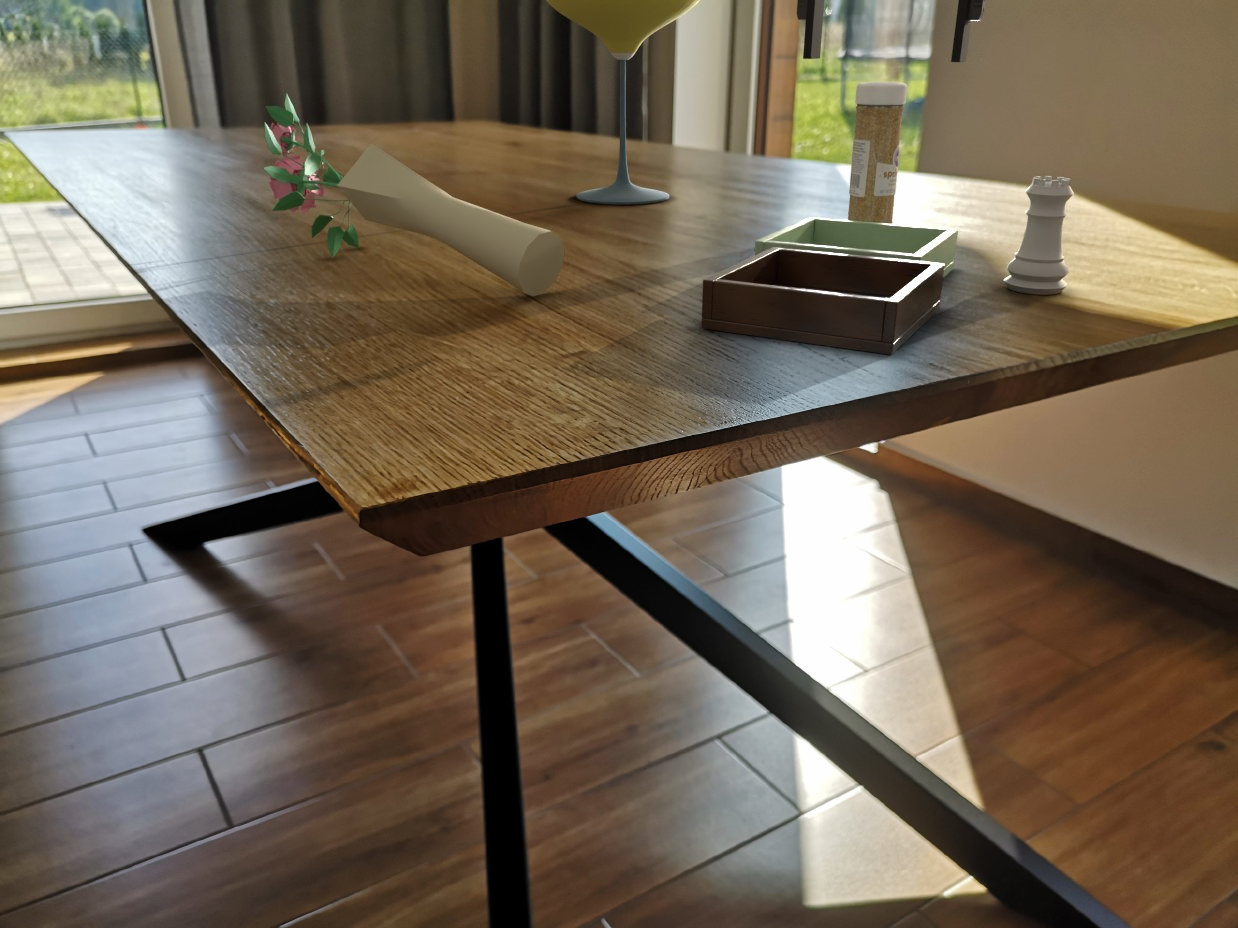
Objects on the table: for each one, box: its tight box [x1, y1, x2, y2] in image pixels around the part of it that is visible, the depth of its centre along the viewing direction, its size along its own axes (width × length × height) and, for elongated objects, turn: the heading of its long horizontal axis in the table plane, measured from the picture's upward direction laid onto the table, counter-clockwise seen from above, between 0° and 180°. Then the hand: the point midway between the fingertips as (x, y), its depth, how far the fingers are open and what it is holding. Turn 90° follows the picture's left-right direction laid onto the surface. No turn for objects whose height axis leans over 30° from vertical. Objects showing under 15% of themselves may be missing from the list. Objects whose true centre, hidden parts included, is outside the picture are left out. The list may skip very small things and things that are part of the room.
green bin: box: [754, 216, 959, 278], centre depth 80 cm, size 12×12×3 cm
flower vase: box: [262, 93, 566, 297], centre depth 84 cm, size 12×12×35 cm
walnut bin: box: [701, 247, 945, 356], centre depth 68 cm, size 12×12×3 cm
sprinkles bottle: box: [847, 81, 908, 224], centre depth 97 cm, size 5×5×14 cm
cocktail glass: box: [545, 0, 701, 206], centre depth 115 cm, size 18×18×25 cm
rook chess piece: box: [1003, 175, 1075, 296], centre depth 75 cm, size 4×4×8 cm
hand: (882, 61), depth 94 cm, fingers open, 13 cm apart
